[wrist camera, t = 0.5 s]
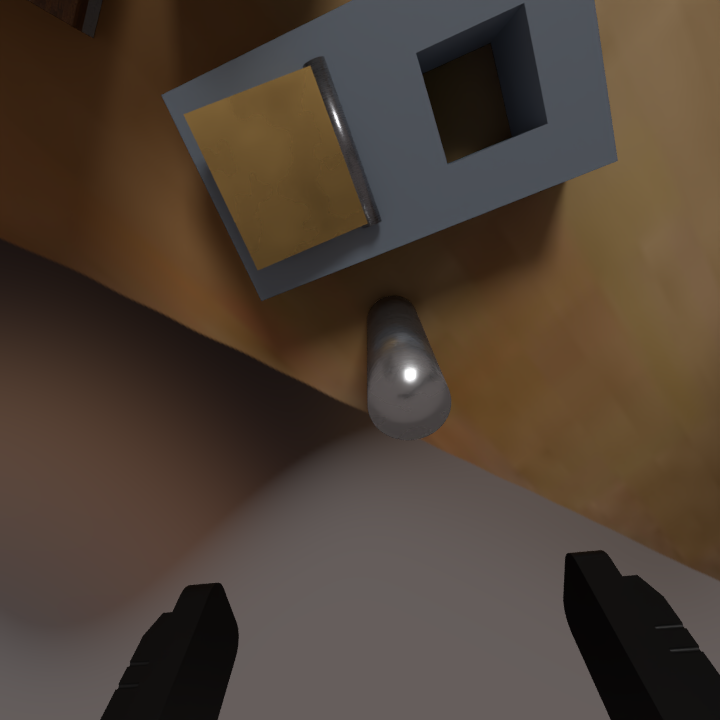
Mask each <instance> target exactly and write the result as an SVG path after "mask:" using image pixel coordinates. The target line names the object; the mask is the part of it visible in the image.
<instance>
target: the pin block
mask: <svg viewBox="0 0 720 720" xmlns="http://www.w3.org/2000/svg"><path fill="white" fill-rule="evenodd" d="M489 43H491V47H492V51H493V55H494V60H495V64H496V69H497V73H498V78H499V82H500V86H501V91H502V95H503V100H504V104H505V109H506V113H507V117H508V122H509V126H510V131H511V135H512V137H510V138H508V139H505V140H503V141H501V142H498V143H496V144H493V145H491V146H489V147H486V148H484V149H482V150H479V151H477V152H474V153H472V154H470V155H467V156H465V157H462V158H460V159H458V160H455V161H453V162H450V163H448V164H447V161H446V157H445V154H444V150H443V146H442V143H441V139H440V136H439V132H438V129H437V125H436V122H435V118H434V115H433V111H432V108H431V104H430V101H429V97H428V93H427V90H426V86H425V83H424V79H423V76H422V74H423V73H425V72H428V71H430V70H432V69H434V68H436V67H439V66H441V65H443V64H445V63H447V62H450V61H452V60H454V59H456V58H458V57H461V56H463V55H465V54H467V53H469V52H471V51H474V50H476V49H478V48H480V47H482V46H485V45H487V44H489ZM319 56H324V58H325V60H326V63H327V66H328V69H329V72H330V75H331V77H332V80H333V83H334V86H335V89H336V92H337V94H338V97H339V100H340V103H341V106H342V109H343V111H344V114H345V117H346V120H347V123H348V126H349V129H350V131H351V134H352V137H353V140H354V143H355V146H356V148H357V151H358V154H359V157H360V160H361V163H362V165H363V168H364V171H365V174H366V177H367V180H368V182H369V185H370V188H371V191H372V194H373V197H374V200H375V202H376V205H377V208H378V211H379V214H380V217H381V219H382V221H381V222H379V223H377V224H375V225H373V226H370V227H367V228H364V229H362V226H361V227H358V228H356V229H354V230H351V231H349V232H347V233H344V234H342V235H340V236H337V237H335V238H333V239H330V240H328V241H326V242H323V243H321V244H319V245H316V246H314V247H312V248H309V249H307V250H305V251H302V252H300V253H298V254H295V255H293V256H291V257H288V258H286V259H284V260H281V261H279V262H277V263H274V264H272V265H270V266H267V267H265V268H263V269H260V270H257V268H256V266H255V264H254V261H253V259H252V257H251V255H250V253H249V251H248V249H247V247H246V245H245V243H244V241H243V238H242V236H241V234H240V232H239V230H238V228H237V226H236V224H235V222H234V220H233V217H232V215H231V213H230V211H229V209H228V207H227V205H226V203H225V201H224V199H223V197H222V194H221V192H220V190H219V188H218V186H217V184H216V182H215V180H214V178H213V176H212V173H211V171H210V169H209V167H208V165H207V163H206V161H205V159H204V157H203V155H202V152H201V150H200V148H199V146H198V144H197V142H196V140H195V138H194V136H193V134H192V132H191V129H190V127H189V125H188V123H187V121H186V119H185V117H184V115H183V114H186V113H188V112H191V111H193V110H196V109H199V108H201V107H204V106H206V105H209V104H212V103H214V102H217V101H219V100H222V99H224V98H227V97H230V96H232V95H235V94H237V93H240V92H243V91H245V90H248V89H250V88H253V87H256V86H258V85H261V84H263V83H266V82H269V81H271V80H274V79H276V78H279V77H282V76H284V75H287V74H289V73H292V72H295V71H297V70H300V69H302V68H303V65H304V64H305V63H306V62H308V61H309V60H311V59H313V58H316V57H319ZM161 96H162V98H163V100H164V102H165V104H166V106H167V108H168V110H169V112H170V114H171V116H172V118H173V120H174V122H175V124H176V126H177V128H178V130H179V133H180V135H181V137H182V139H183V141H184V143H185V145H186V147H187V149H188V151H189V153H190V155H191V157H192V159H193V161H194V163H195V165H196V167H197V169H198V172H199V174H200V176H201V178H202V180H203V182H204V184H205V186H206V188H207V190H208V192H209V194H210V196H211V198H212V200H213V202H214V204H215V206H216V209H217V211H218V213H219V215H220V217H221V219H222V221H223V223H224V225H225V227H226V229H227V231H228V233H229V235H230V237H231V239H232V241H233V243H234V245H235V248H236V250H237V252H238V254H239V256H240V258H241V260H242V262H243V264H244V266H245V268H246V270H247V272H248V274H249V276H250V278H251V280H252V282H253V284H254V287H255V289H256V291H257V293H258V295H259V297H260V299H261V301H263V300H265V299H268V298H270V297H273V296H275V295H278V294H280V293H283V292H286V291H288V290H291V289H293V288H296V287H298V286H301V285H303V284H306V283H308V282H311V281H313V280H316V279H319V278H321V277H324V276H326V275H329V274H331V273H334V272H336V271H339V270H341V269H344V268H346V267H349V266H352V265H354V264H357V263H359V262H362V261H364V260H367V259H369V258H372V257H374V256H377V255H379V254H382V253H385V252H387V251H390V250H392V249H395V248H397V247H400V246H402V245H405V244H407V243H410V242H412V241H415V240H418V239H420V238H423V237H425V236H428V235H430V234H433V233H435V232H438V231H440V230H443V229H446V228H448V227H451V226H453V225H456V224H458V223H461V222H463V221H466V220H468V219H471V218H473V217H476V216H479V215H481V214H484V213H486V212H489V211H491V210H494V209H496V208H499V207H501V206H504V205H506V204H509V203H512V202H514V201H517V200H519V199H522V198H524V197H527V196H529V195H532V194H534V193H537V192H539V191H542V190H545V189H547V188H550V187H552V186H555V185H557V184H560V183H562V182H565V181H567V180H570V179H572V178H575V177H578V176H580V175H583V174H585V173H588V172H590V171H593V170H595V169H598V168H600V167H603V166H606V165H608V164H611V163H613V162H616V161H618V160H617V153H616V146H615V139H614V132H613V125H612V119H611V112H610V105H609V98H608V91H607V84H606V77H605V70H604V64H603V57H602V50H601V43H600V36H599V29H598V22H597V15H596V8H595V2H594V0H352V1H350V2H348V3H346V4H344V5H342V6H340V7H338V8H336V9H334V10H332V11H330V12H328V13H326V14H324V15H322V16H320V17H318V18H316V19H314V20H312V21H310V22H308V23H306V24H304V25H302V26H300V27H298V28H296V29H294V30H292V31H290V32H288V33H286V34H284V35H282V36H279V37H277V38H275V39H273V40H271V41H269V42H267V43H265V44H263V45H261V46H259V47H257V48H255V49H253V50H251V51H249V52H247V53H245V54H243V55H241V56H239V57H237V58H235V59H233V60H231V61H229V62H227V63H225V64H223V65H221V66H219V67H217V68H215V69H213V70H211V71H209V72H207V73H205V74H203V75H201V76H199V77H197V78H195V79H193V80H191V81H189V82H187V83H185V84H183V85H181V86H179V87H177V88H175V89H173V90H171V91H169V92H167V93H165V94H162V95H161Z"/></svg>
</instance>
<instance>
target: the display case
mask: <svg viewBox="0 0 720 720" xmlns="http://www.w3.org/2000/svg"><path fill="white" fill-rule="evenodd" d="M28 1H30V2H31V3H33V4H35V5H37V6H38V7H40V8H42V9H43V10H45V11H47V12H49V13H50V14H52V15H54V16H55V17H57V18H59V19H61V20H62V21H64V22H66V23H68V24H69V25H71V26H73V27H75V28H76V29H78V30H80V31H82V32H83V33H85V34H87V35H89V36H91V37H92V38H93V37H94V33H95V29H96V25H97V21H98V17H99V13H100V8H101V4H102V0H28Z"/></svg>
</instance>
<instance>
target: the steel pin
mask: <svg viewBox="0 0 720 720" xmlns="http://www.w3.org/2000/svg"><path fill="white" fill-rule="evenodd" d="M367 398H368V412H369V416H370V418H371V420H372V422H373V423H374V425H375V426H376V427H377V428H378V429H379V430H380V431H381V432H383V433H384V434H386V435H388V436H390V437H392V438H396V439H400V440H415V439H420V438H424V437H426V436H428V435H430V434H432V433H434V432H435V431H436V430H438V429H439V428H440V427H441V426H442V425H443V423H444V422H445V421H446V419H447V417H448V415H449V412H450V408H451V396H450V392H449V389H448V387H447V384H446V382H445V379H444V377H443V375H442V372H441V370H440V367H439V365H438V363H437V360H436V358H435V355H434V353H433V350H432V348H431V346H430V343H429V341H428V338H427V336H426V334H425V331H424V329H423V326H422V324H421V321H420V319H419V317H418V314H417V312H416V309H415V308H414V306H413V305H412V303H411V302H409V301H408V300H407V299H405V298H403V297H400V296H386V297H383V298H381V299H379V300H378V301H376V302H375V303H374V304H373V305H372V307H371V308H370V310H369V313H368V316H367Z"/></svg>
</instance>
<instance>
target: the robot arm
mask: <svg viewBox="0 0 720 720" xmlns="http://www.w3.org/2000/svg"><path fill="white" fill-rule="evenodd" d="M563 602H564V610H565V614H566V618H567V622H568V625H569V627H570V630H571V632H572V635H573V637H574V639H575V641H576V644H577V646H578V648H579V650H580V652H581V655H582V657H583V659H584V661H585V663H586V666H587V668H588V670H589V672H590V675H591V677H592V679H593V681H594V683H595V686H596V688H597V690H598V692H599V695H600V697H601V699H602V701H603V703H604V706H605V708H606V710H607V712H608V715H609V717H610V719H611V720H720V675H719V673H718V672H717V671H716V669H715V668H714V666H713V665H712V664H711V662H710V661H709V660H708V658H707V657H706V655H705V654H704V652H701V651H700V649H699V646H698V644H697V643H696V641H695V640H694V639H693V637H692V636H691V634H690V633H689V632H688V630H687V629H686V628H684V627H683V624H682V622H681V621H680V619H679V618H678V616H677V615H676V613H675V612H674V611H673V609H672V608H671V606H670V605H669V604H668V602H667V601H666V599H665V598H664V597H663V596H662V595H661V594H660V593H659V592H657V591H656V590H655V589H654V588H652V587H651V586H650V585H649V584H648V583H646V582H645V581H644V580H643V579H641V578H640V577H639V576H638V575H632V576H622V575H621V574H620V572H619V571H618V569H617V568H616V566H615V565H614V563H613V562H612V560H611V558H610V557H609V556H608V554H607V553H605V552H604V551H602V550H598V551H587V552H577V553H567V554H566V557H565V575H564V595H563ZM238 639H239V634H238V626H237V623H236V620H235V617H234V615H233V612H232V609H231V607H230V604H229V601H228V599H227V597H226V593H225V591H224V588H223V586H222V585H221V584H220V583H209V584H199V585H189V586H187V587H185V588H184V590H183V591H182V593H181V595H180V597H179V599H178V601H177V603H176V606H175V608H174V610H173V612H170V613H163V614H162V615H161V616H160V617H159V618H158V619H157V621H156V622H155V623H154V624H153V625H152V626H151V627H150V629H149V630H148V631H147V632H146V633H145V634H144V636H143V637H142V639H141V641H140V643H139V645H138V647H137V649H136V651H135V653H134V655H133V657H132V659H131V661H130V666H129V667H127V669H126V671H125V673H124V674H123V677H122V678H121V680H120V682H119V688H118V689H117V690H115V692H114V694H113V696H112V698H111V700H110V702H109V704H108V706H107V708H106V710H105V712H104V714H103V716H102V717H101V719H100V720H218V716H219V713H220V709H221V706H222V703H223V699H224V696H225V692H226V689H227V685H228V682H229V679H230V675H231V671H232V668H233V665H234V661H235V658H236V654H237V649H238Z"/></svg>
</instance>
